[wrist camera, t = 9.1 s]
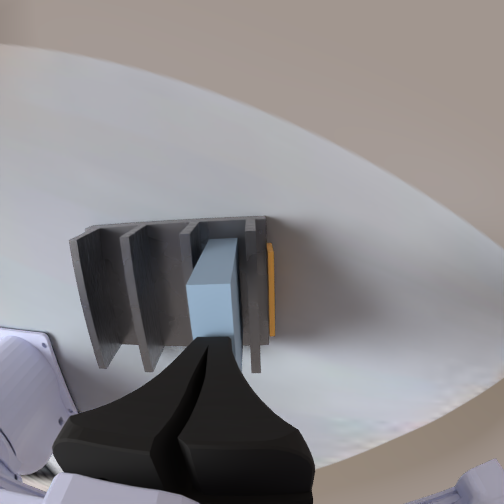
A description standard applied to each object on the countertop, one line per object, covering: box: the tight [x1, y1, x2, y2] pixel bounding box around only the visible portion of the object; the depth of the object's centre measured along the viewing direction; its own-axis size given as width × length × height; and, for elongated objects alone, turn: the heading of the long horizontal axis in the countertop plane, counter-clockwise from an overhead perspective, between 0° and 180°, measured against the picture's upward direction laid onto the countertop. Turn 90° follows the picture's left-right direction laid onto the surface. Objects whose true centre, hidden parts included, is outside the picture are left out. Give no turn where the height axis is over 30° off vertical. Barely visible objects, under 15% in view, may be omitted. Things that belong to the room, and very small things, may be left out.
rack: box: [69, 216, 275, 373], centre depth 18 cm, size 8×11×4 cm
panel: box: [186, 238, 243, 372], centre depth 16 cm, size 6×2×7 cm, turn 2°
